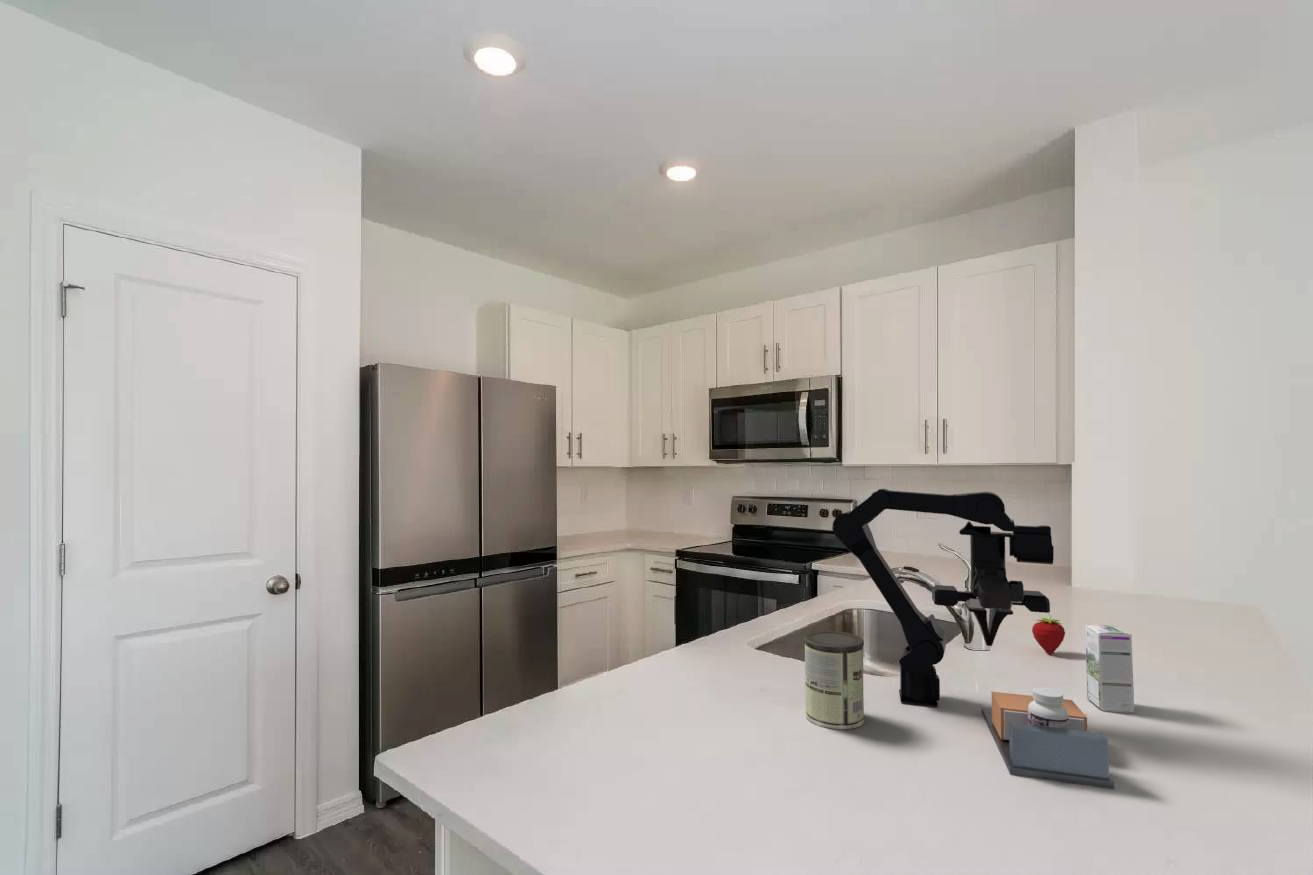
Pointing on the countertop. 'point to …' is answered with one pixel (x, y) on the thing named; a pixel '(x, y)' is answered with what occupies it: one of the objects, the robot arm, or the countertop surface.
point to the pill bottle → (1047, 709)
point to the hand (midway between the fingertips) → (988, 645)
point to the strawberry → (1048, 634)
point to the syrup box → (1109, 668)
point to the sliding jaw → (1017, 712)
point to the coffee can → (834, 679)
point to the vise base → (1054, 753)
